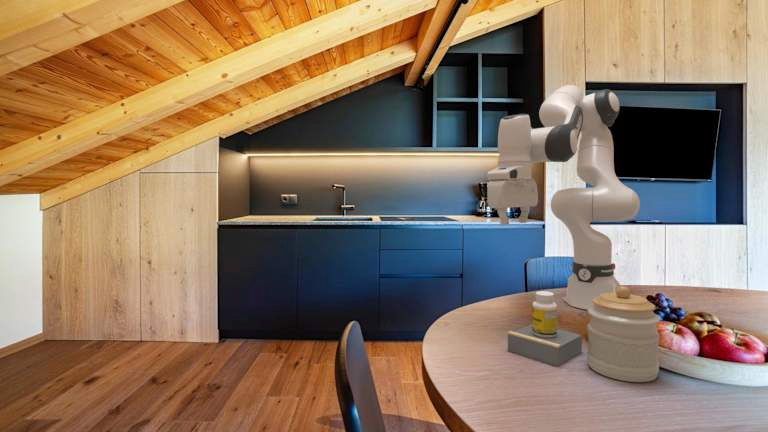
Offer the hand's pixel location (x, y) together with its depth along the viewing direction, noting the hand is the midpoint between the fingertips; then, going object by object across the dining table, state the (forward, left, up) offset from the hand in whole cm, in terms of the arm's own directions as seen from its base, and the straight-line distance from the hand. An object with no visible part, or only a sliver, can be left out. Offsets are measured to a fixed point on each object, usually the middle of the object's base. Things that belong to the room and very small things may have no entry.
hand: (514, 223), depth 112 cm
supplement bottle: (+11, +15, -25) cm, 31 cm away
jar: (+9, +30, -29) cm, 43 cm away
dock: (+11, +15, -29) cm, 34 cm away
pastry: (-8, +20, -29) cm, 36 cm away
